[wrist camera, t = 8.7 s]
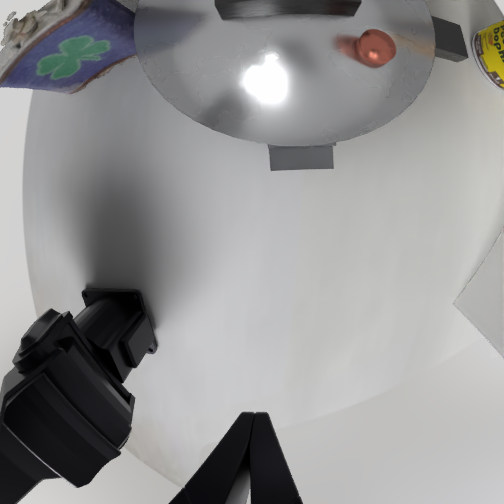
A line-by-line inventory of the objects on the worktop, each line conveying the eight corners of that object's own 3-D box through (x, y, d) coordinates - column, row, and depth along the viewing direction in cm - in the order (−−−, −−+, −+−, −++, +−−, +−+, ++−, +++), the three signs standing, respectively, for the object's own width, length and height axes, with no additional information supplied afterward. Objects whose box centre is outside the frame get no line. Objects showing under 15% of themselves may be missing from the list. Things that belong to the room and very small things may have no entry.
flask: (67, 100, 17) (-35, 95, 7) (63, 72, 16) (-33, 59, 6) (163, 46, 15) (72, -15, 5) (156, 18, 14) (73, -46, 4)
